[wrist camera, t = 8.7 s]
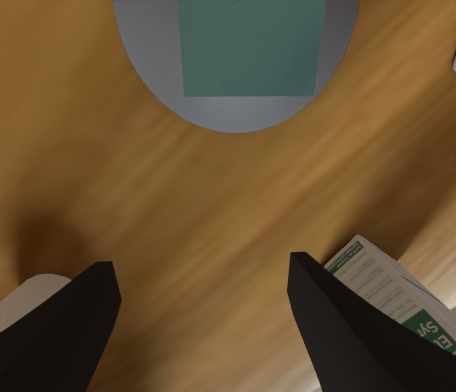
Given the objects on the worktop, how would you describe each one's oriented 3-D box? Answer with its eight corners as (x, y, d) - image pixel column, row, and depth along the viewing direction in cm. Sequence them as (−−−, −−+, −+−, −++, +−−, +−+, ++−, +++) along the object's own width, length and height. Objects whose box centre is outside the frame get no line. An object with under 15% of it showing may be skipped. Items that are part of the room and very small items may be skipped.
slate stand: (367, -141, 12) (387, -170, 11) (327, 128, 17) (337, 131, 16) (99, -152, 12) (84, -184, 10) (139, 130, 17) (133, 134, 15)
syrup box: (356, 230, 21) (606, 477, 8) (400, 262, 23) (669, 511, 9) (310, 275, 23) (449, 543, 9) (354, 302, 24) (525, 562, 11)
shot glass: (93, 271, 21) (40, 350, 15) (97, 328, 24) (54, 416, 17) (6, 263, 20) (-90, 343, 14) (20, 323, 23) (-55, 414, 17)
